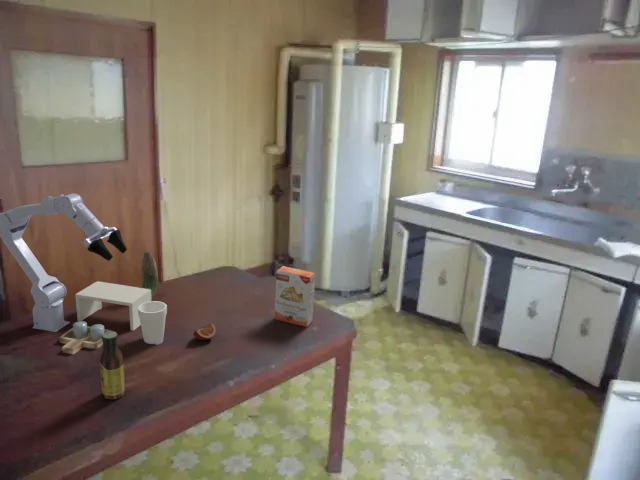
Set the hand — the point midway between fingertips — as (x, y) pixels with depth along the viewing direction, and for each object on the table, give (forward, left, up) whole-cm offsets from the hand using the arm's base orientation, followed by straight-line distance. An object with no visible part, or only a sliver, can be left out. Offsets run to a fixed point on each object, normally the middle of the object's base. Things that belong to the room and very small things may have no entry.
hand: (118, 255), depth 174 cm
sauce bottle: (+15, -29, -32) cm, 45 cm away
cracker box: (+52, +34, -32) cm, 70 cm away
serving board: (-11, -7, -31) cm, 34 cm away
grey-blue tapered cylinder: (-8, -3, -31) cm, 32 cm away
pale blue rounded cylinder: (-14, -3, -31) cm, 34 cm away
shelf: (-11, +13, -31) cm, 36 cm away
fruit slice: (+26, +10, -32) cm, 42 cm away
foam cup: (+10, +3, -32) cm, 33 cm away
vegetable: (-9, +35, -32) cm, 48 cm away
